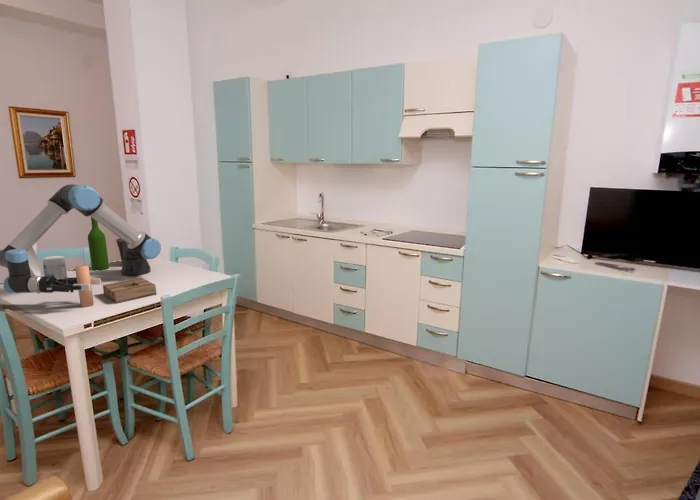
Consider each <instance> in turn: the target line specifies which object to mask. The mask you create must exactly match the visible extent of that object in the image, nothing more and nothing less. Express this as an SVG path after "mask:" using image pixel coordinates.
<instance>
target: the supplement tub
mask: <svg viewBox="0 0 700 500" xmlns="http://www.w3.org/2000/svg"><path fill="white" fill-rule="evenodd" d="M42 266H43V267H42V268H43V276H54V277H55V278H56V279H57V280H58V279H65V278H66V277H68V274H67V267H66V259H65V256H64V255H53V256H51V255H50V256H46V257H44V258H42Z"/></svg>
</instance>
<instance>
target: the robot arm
mask: <svg viewBox="0 0 700 500" xmlns="http://www.w3.org/2000/svg"><path fill="white" fill-rule="evenodd" d="M73 209H74V210H76V211H78V213H80V214H81V215H82V216H84V217H87V218H89V217H90V218H91V217H92V218H94V219H95V220H96V221H97V222H98V223H99V224H101V225H102V226H103V227H105V228H106V229H107V230H108V231H110V232H111V233H112V234H114V235H115V236H116V237H118V239H119V238H121V243H122V251H123V259H124V262H123V265H122V267H121V275H123V276H125V277H126V276H129V277H130V276H133V277H134V276H140V275H145V274H148V273H150V272H151V266H150V264H149V262H148V260H154V259H155V258H157V257H158V256H159V255H160V253H161V252H162V251H161V250H162V244H161V243H160V241H159V240H158V239H157V238H153V237H151V236H149V234H148V233H146V232H144V231H139V230H138V229H136V228H135V227H133V226H132V225H131V224H130V223H129V222H127V221H126V220H125V219H123V218H122V217H121V216H120V215H119V214H117V213H116V212H114V211H113V210H112V209H111V208H110V207H108V206H107V205H106V204H105V203H104V199H103V198H102V197H101V196H100V194H99V191H97V190H96V189H95V188H93V187H91V186H89V185H87V184H86V185H84V184H72V183H71V184H66V185H63V186H62V187H60V188H59V189H58V190H56V192H55V193H54V194H53V195H52V196H51V197H50V198H49V199H48V200H47V204H46V205H45V207H44V208H43V209H42V210H40V211H39V213H38V214H37V215H36V216H35V217H34V218H33V219H31V221H30V222H29V223H28V224H27V225H26V226H25V227H24V228H23V229H22V231H20V232H19V233H18V234H17V236H15V237H14V238H13V240H11V241H10V242H9V243H8V244H7V245H6V246H5V247H4V248H3V249H0V267H3V268H6V269H7V272H8V276H6V278H5V279H4V280H3V286H2V287H3V288H4V290H5V291H6V292H8V293H13V294H14V293H15V294H23V293H24V294H25V293H27V294H28V293H31V294H33V293H34V294H35V293H36V294H38V295H39V294H43V293H45V294H46V293H47V294H49V293H51V294H52V293H54V292H55V293H56V292H58V293H59V292H60V293H74V291H78V290H90V284H77V277H76V276H75V277H68V276H67V277H66V278H65V279H58V280H57V279H56V278H55V277H54V276H44V275H41V276H31V274H30V268H29V261H28V255H27V251H28V250H29V249H30V248H31V247H32V246H33V245H34V244H35V243H36V242H38V241H39V240H40V239H41V238H42V237H43V236H44V235H45V234H46V233H47V232H48V230H49V229H50V228H51V227H53V225H55V223H56V222H58V221H59V219H60V218H61V217H62V216H63V215H67V214H68V213H69V212H70V211H71V210H73ZM90 281H91V285H102V279H101V278H100V277H99V278H97V277H96V278H95V277H94V278H91V277H90Z"/></svg>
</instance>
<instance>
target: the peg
mask: <svg viewBox="0 0 700 500" xmlns="http://www.w3.org/2000/svg"><path fill="white" fill-rule="evenodd" d="M74 270H75V275H76V276H75V277H77V284H90V290H77V291H78V296H79V302H80V303H79V304H80V307H81V308H88V307H89V306H90V307H92V306H94V303H95V302H94V298H93V288H92V284H91V281H90V278H91V275H90V274H91V273H90V267H89V265H79V266H75V267H74Z"/></svg>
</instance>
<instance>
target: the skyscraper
mask: <svg viewBox="0 0 700 500" xmlns="http://www.w3.org/2000/svg"><path fill="white" fill-rule="evenodd" d="M37 242H38V241H37ZM37 242H36V243H35V244H34V245H33V246H32V247H31V248H30V249H29V250H28V251H27V255H28V261H29V268H30V274H31V276H42V269H41V265H40V260H39V257H38V255H37V254H38V253H37V251H38V246H37V245H38V244H37Z"/></svg>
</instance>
